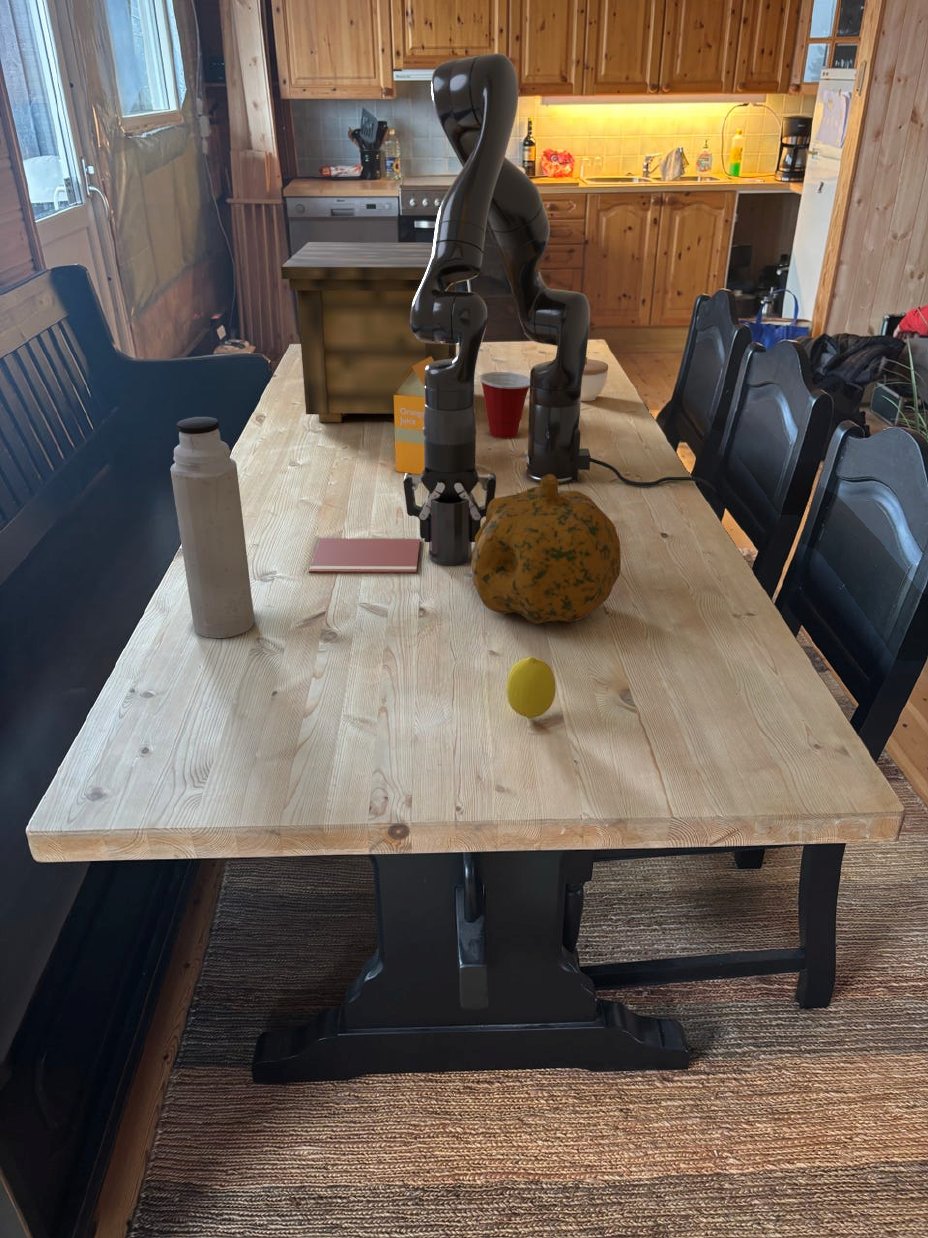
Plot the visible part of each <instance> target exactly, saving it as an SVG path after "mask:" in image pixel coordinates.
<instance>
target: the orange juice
mask: <svg viewBox="0 0 928 1238" xmlns="http://www.w3.org/2000/svg"><path fill="white" fill-rule="evenodd" d="M433 361H434V360H433V358H432V357H431V356H430V357H428V358H427V359H425V360H423V361H421V362H419V363H417V364H416V365H414V366H412V369H411V370H410V372H409V373H408V375H407V376H406V378H405V379H404V381H403V382H402V384H401V386H400V387H399V389H398V390H397V392H396V393H395V394H394V413H393V416H394V427H393V428H394V443H395V445H394V448H395V472H399V473H405V474H406V473H411V474H412V475H419V474H422V473H423V471H424V435H423V428H424V412H425V369H426V367H427V365H428V364H429V363H431V362H433Z"/></svg>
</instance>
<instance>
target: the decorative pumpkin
mask: <svg viewBox="0 0 928 1238" xmlns="http://www.w3.org/2000/svg"><path fill="white" fill-rule="evenodd" d="M558 483H559V482H558V479H556V477H555V476H554V475H553V474H548V475H545V476H544V477H542V478H541V483H540V485H536V486H533V487H529V488H527V489H526V490H524V491H521V492H517V493H515V494H510V495H505V496H500V497H495V498H494V499H492V500H491V501H490V503H489V505H488V507H487V513H486V516H485V520H484V522H483V523H482V525H481V527H480V529H479V531H478V533H477V534H476V537H475V542H474V547H473V550H472V557H471V564H470V566H471V573H472V575H473V576H472V583H473V586H474V587H475V589H476V591H477V595H478V597H479V599H480V600H481V602H482V603H483V605H484V606H485V607H487V608H488V609H490V610H491V611H493V612H495V613H499V614H505V615H507V614H512V613H516V614H518V615H521V616H522V617H523V618H525V619H526V620H527V621H529V622H531V623H533V624H535V625H539V624H542V623H546V622H553V621H561V622H562V621H563V622H566V623H570V622H575V621H578V620H583V619H585V618H586V617H587V616H589V614H591V613H592V612H594V611H595V610H596V609H598V608H599V607H600V606H601V605H602V604H604V603H605V602H606V601H607V600H608V598H609V596H610V594H611V593H612V590H613V587H614V586H615V584H616V582H617V581H618V579H619V577H620V575H621V567H622V566H621V565H622V561H621V560H622V558H621V557H622V556H621V542H620V538H619V535H618V532H617V527H616V526H615V524H614V522H613V521H612V520H611V519H610V518H609V516H608V514H607V515H606V513H605V512H604V511H603V510H602V509H601V508H600V507H599V506H598V505H597V503H596V502H595V501H593V499H592V498H591V497H589V496H588V495H586V494H585V493H582V492H581V491H578V490H570V489H569V490H568V489H567V490H566V489H564V490H563V489H559V484H558Z"/></svg>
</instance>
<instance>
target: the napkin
mask: <svg viewBox="0 0 928 1238" xmlns="http://www.w3.org/2000/svg"><path fill="white" fill-rule="evenodd" d="M420 545H421V538H319V540H318V543H317V546H316V549H315V551H314V555H313V557H312V560H311V563H310V566H309V569H308V573H309V574H417V569H418V563H419V562H418V561H419V553H420Z"/></svg>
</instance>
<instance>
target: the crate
mask: <svg viewBox="0 0 928 1238" xmlns="http://www.w3.org/2000/svg"><path fill="white" fill-rule="evenodd" d="M432 249H433V242H371V241H370V242H367V241H366V242H354V241H353V242H351V241H350V242H347V241H345V242H344V241H335V242H333V241H331V242H329V241H308V242H307V243H306V244H304V245H303V246H302V247H301V248H300V249H299V250H298V251H297V252H296V253H294V255H292V256H291V257H289V259H288V260H287V261H286V262H284V263H283V264H282V265H281V266H280V270H281V272H280V273H281V279H282V280H288V284H289V291H296V295H297V296H296V298H297V300H296V301H297V313H298V322H299V323H298V325H299V326H298V327H299V337H300V351H301V362H302V363H301V365H302V376H303V379H302V380H303V390H304V391H303V392H304V405H305V406H304V407H305V415H317V416H318V421H319V423H341V422H342V421H343V418H344V415H345V414H394V394H395V393H396V392H397V390H398V389H399V387H400V386H401V384H402V382H403V381H404V379H405V378H406V376H407V375H408V373H409V372H410V370H411V369H412V366H414V365H416V364H417V363H419V362H421V361H423V360H425V359H427V358H428V357H430V356H431V357H432V358H433V360H434V361H437V360H441V359H448V358H452V357H456V356H457V345H448V344H431V343H424V342H421V341H419V340H418V339H417V338H416V337H415V335H414V334H413V332H412V329H411V326H410V312H411V307H412V304H413V301H414V298H415V296H416V294H417V291H418V289H419V287H420V285H421V283H422V280H423V278H424V276H425V273H426V270H427V268H428V265H429V262H430V259H431V255H432ZM446 291H457V283H454V284H452V285H451V286H449V288H448V289H447V290H446Z"/></svg>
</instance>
